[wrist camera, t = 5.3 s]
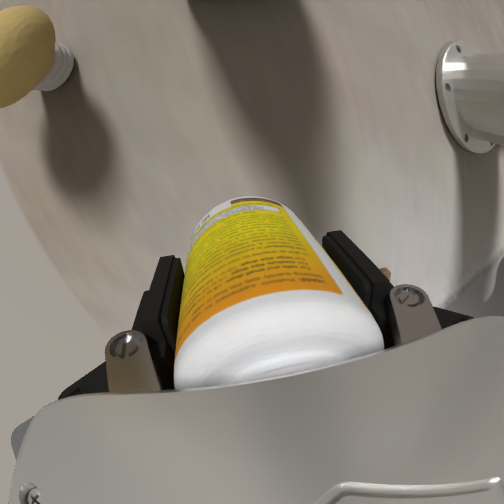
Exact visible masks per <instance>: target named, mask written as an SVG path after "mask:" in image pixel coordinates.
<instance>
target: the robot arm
mask: <svg viewBox="0 0 504 504" xmlns="http://www.w3.org/2000/svg"><path fill="white" fill-rule="evenodd" d="M436 86H437V94H438V99H439V104H440V107H441V111H442V114H443V117H444V119H445V122H446V124H447V126H448V128H449V130H450V132H451V134H452V135H453V137H454V138H455V140H456V141H457V142H458V143H459V144H460V145H461V146H462V147H463V148H465V149H466V150H468V151H471V152H474V153H479V154H483V153H486V152H488V151H490V150H491V149H492V148H493V147H494V146H495V144H498V145H501V146H504V54H483V53H482V52H481V51H480V50H479V49H478V48H477V47H475V46H474V45H472V44H471V43H468V42H465V41H456V42H450V43H449V44H447V45H445V47H444V48H443V49H442V50H441V53H440V55H439V57H438V62H437V67H436ZM322 247H323V249H324V250H325V251H326V253H327V254H328V255H329V257H330V258H331V259H332V260H333V262H334V263H335V264H336V265H337V267H338V268H339V269H340V271H341V272H342V273H343V275H344V276H345V278H346V279H347V280H348V282H349V283H350V285H351V286H352V287H353V289H354V290H355V292H356V293H357V294H358V296H359V297H360V299H361V300H362V301H363V303H364V304H365V306H366V307H367V308H368V310H369V311H370V313H371V314H372V316H373V317H374V319H375V321H376V323H377V324H378V326H379V328H380V331H381V333H382V336H383V341H384V350H381V351H378V352H374V353H371V354H368V355H364V356H361V357H357V358H354V359H350V360H346V361H343V362H339V363H335V364H331V365H327V366H323V367H319V368H315V369H310V370H306V371H301V372H296V373H291V374H286V375H281V376H276V377H271V378H265V379H259V380H253V381H246V382H239V383H232V384H225V385H217V386H208V387H198V388H187V389H175V388H174V362H175V351H176V341H177V332H178V322H179V313H180V305H181V298H182V291H183V284H184V277H185V275H184V271H183V267H182V263H181V260H180V258H175V256H174V255H171V256H165V257H160V259H159V262H158V265H157V268H156V271H155V274H154V277H153V280H152V283H151V286H150V290H149V291H145V292H144V293H143V296H142V299H141V302H140V305H139V308H138V311H137V314H136V318H135V321H134V324H133V327H132V330H128V331H123V332H121V333H119V334H117V335H115V336H114V337H112V338H111V339H110V340H109V342H108V343H107V345H106V348H105V359H106V361H105V362H104V363H102V364H101V365H99V366H98V367H97V368H95V369H94V370H92V371H91V372H89V373H88V374H87V375H85V376H84V377H82V378H81V379H80V380H78V381H76V382H75V383H74V384H72V385H71V386H69V387H68V388H66V389H65V390H64V391H63V392H62V393H61V395H60V396H59V398H58V400H57V401H54V402H52V403H50V404H48V405H46V406H44V407H43V408H42V409H40V410H39V411H38V412H37V414H36V415H35V416H33V417H32V418H30V419H29V420H27V421H25V422H24V423H22V424H21V425H19V426H18V427H17V428H16V429H14V431H13V433H12V436H11V445H12V448H13V451H14V454H15V458H16V465H15V469H14V473H13V478H12V483H11V489H10V496H9V503H8V504H504V317H502V316H485V317H479V318H473V317H470V316H467V315H463V314H459V313H455V312H452V311H448V310H444V309H441V308H437V307H433V306H432V304H431V302H430V299H429V297H428V295H427V294H426V292H425V291H423V290H422V289H421V288H419V287H417V286H413V285H408V284H403V285H398V286H395V287H394V286H393V285H392V284H391V283H390V282H389V281H390V280H389V279H388V278H387V277H386V276H385V275H384V274H383V273H382V272H381V271H380V270H379V269H378V267H377V266H376V265H375V264H374V263H373V262H372V261H371V260H370V259H369V258H368V257H367V256H366V255H365V254H364V253H363V252H362V251H361V250H360V249H359V248H358V247H357V246H356V245H355V244H354V243H353V242H352V241H351V240H350V239H349V238H348V237H347V236H346V235H345V234H344V233H343V232H342V231H341V230H339V231H332V232H327V234H326V236H323V240H322Z"/></svg>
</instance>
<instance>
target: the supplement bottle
mask: <svg viewBox="0 0 504 504" xmlns="http://www.w3.org/2000/svg"><path fill="white" fill-rule="evenodd" d="M381 350H384V341H383V336H382V333H381V331H380V328H379V326H378V324H377V323H376V321H375V319H374V317H373V316H372V314H371V313H370V311H369V310H368V308H367V307H366V306H365V304H364V303H363V301H362V300H361V299H360V297H359V296H358V294H357V293H356V292H355V290H354V289H353V287H352V286H351V285H350V283H349V282H348V280H347V279H346V278H345V276H344V275H343V273H342V272H341V271H340V269H339V268H338V267H337V265H336V264H335V263H334V262H333V260H332V259H331V258H330V257H329V255H328V254H327V253H326V251H325V250H324V249H323V247H322V246H321V245H320V244H319V242H318V241H317V240H316V239H315V237H314V236H313V235H312V234H311V233H310V231H309V230H308V229H307V228H306V226H305V225H304V224H303V223H302V221H301V220H300V219H299V218H298V217H297V216H296V215H295V214H294V213H293V212H292V211H291V210H290V209H289V208H287V207H286V206H284V205H283V204H281V203H279V202H277V201H274V200H271V199H268V198H264V197H256V196H247V197H238V198H235V199H231V200H228V201H226V202H224V203H222V204H220V205H218V206H216V207H215V208H213V209H212V210H211V211H210V212H208V213H207V214H206V215H205V216H204V217H203V219H202V220H201V221H200V222H199V224H198V225H197V227H196V229H195V231H194V233H193V235H192V238H191V241H190V245H189V251H188V257H187V263H186V270H185V277H184V284H183V291H182V298H181V305H180V313H179V322H178V332H177V341H176V351H175V362H174V388H175V389H187V388H198V387H208V386H217V385H225V384H232V383H239V382H246V381H253V380H259V379H265V378H271V377H276V376H281V375H286V374H291V373H296V372H301V371H306V370H310V369H315V368H319V367H323V366H327V365H331V364H335V363H339V362H343V361H346V360H350V359H354V358H357V357H361V356H364V355H368V354H371V353H374V352H378V351H381Z"/></svg>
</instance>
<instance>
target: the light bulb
mask: <svg viewBox="0 0 504 504" xmlns="http://www.w3.org/2000/svg"><path fill="white" fill-rule="evenodd" d="M73 64H74V57H73V53H72V52H71V50H70V49H69V48H68V47H66V46H64V45H62V44H60V43H57V42H56V39H55V30H54V27H53V24H52V22H51V20H50V18H49V17H48V16H47V15H46V14H45V13H44V12H43V11H41V10H40V9H38V8H35V7H32V6H22V5H21V6H14V7H9V8H6V9H4V10H1V11H0V108H4V107H6V106H9V105H11V104H13V103H15V102H17V101H18V100H20V99H21V98H23V97H24V96H26V95H27V94H28V93H29V92H30V91H31V90H40V91H51V90H54V89H56V88H58V87H59V86H61V85H62V84H63V83H64V82H65V81H66V79H67V78H68V77H69V75H70V73H71V71H72V68H73Z"/></svg>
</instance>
